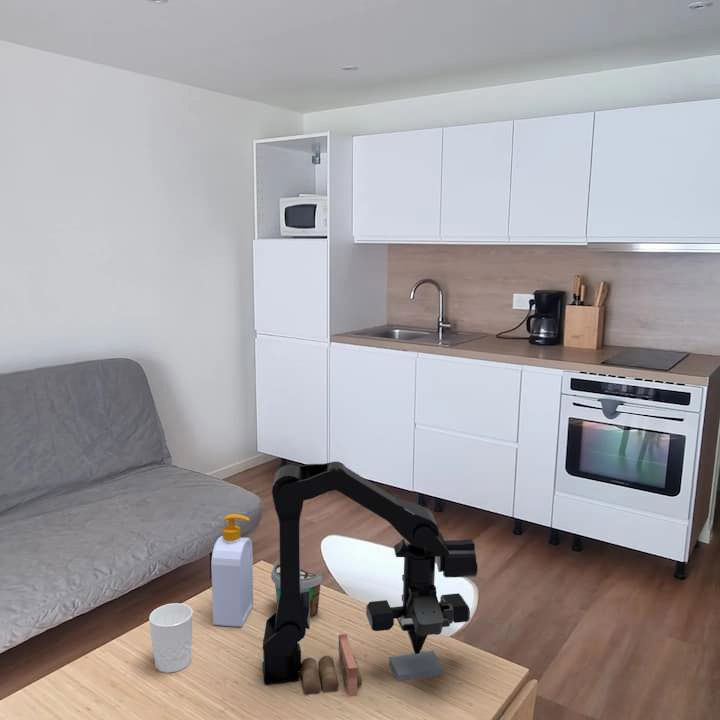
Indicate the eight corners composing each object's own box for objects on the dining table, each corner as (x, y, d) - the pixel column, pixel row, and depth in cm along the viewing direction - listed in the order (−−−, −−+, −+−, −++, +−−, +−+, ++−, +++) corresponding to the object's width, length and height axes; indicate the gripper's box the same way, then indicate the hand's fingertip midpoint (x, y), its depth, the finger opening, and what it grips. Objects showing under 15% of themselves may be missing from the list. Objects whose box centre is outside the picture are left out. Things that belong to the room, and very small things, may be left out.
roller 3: (358, 671, 118) (364, 684, 118) (351, 650, 124) (357, 662, 124) (343, 678, 117) (349, 692, 118) (337, 657, 123) (342, 669, 124)
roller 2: (329, 674, 116) (342, 682, 117) (324, 652, 123) (336, 660, 123) (319, 687, 116) (332, 695, 117) (314, 665, 123) (327, 672, 123)
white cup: (143, 662, 125) (141, 614, 123) (180, 644, 130) (178, 598, 129) (165, 681, 119) (163, 631, 118) (202, 661, 125) (200, 613, 123)
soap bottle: (244, 628, 136) (242, 525, 132) (212, 626, 137) (209, 523, 133) (256, 605, 145) (255, 508, 141) (226, 603, 146) (223, 506, 142)
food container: (260, 614, 141) (259, 571, 140) (276, 601, 147) (276, 559, 145) (308, 630, 136) (308, 585, 134) (323, 615, 141) (323, 572, 139)
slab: (398, 685, 120) (398, 675, 119) (389, 666, 125) (389, 657, 125) (443, 677, 122) (444, 667, 122) (432, 659, 127) (433, 650, 127)
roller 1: (302, 694, 116) (306, 679, 116) (299, 671, 122) (302, 656, 122) (318, 696, 117) (322, 680, 116) (314, 672, 123) (318, 658, 122)
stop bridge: (348, 696, 116) (348, 668, 115) (338, 660, 126) (338, 634, 125) (356, 695, 116) (357, 667, 115) (346, 659, 126) (346, 633, 125)
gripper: (380, 603, 111) (378, 686, 113) (483, 594, 115) (478, 674, 117) (366, 572, 122) (364, 648, 124) (460, 564, 125) (457, 638, 128)
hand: (416, 652), depth 123 cm, fingers closed
